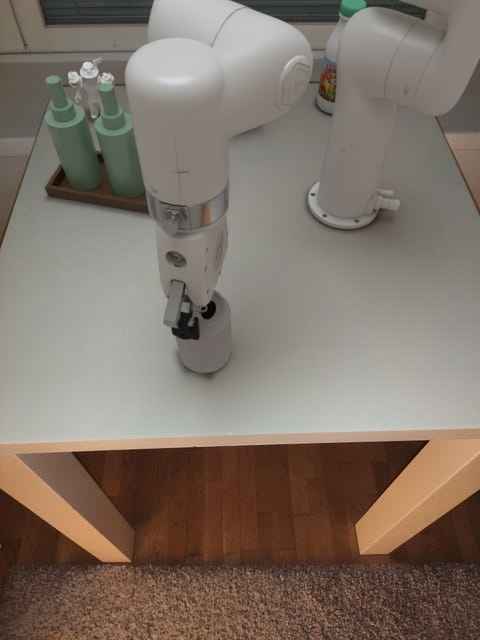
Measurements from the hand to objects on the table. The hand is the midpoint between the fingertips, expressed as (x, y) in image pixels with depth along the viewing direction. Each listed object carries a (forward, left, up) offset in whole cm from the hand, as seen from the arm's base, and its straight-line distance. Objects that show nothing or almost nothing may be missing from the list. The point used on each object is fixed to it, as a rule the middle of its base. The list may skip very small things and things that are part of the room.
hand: (197, 302), depth 57 cm
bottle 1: (+31, -30, -12) cm, 45 cm away
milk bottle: (-11, -65, -13) cm, 68 cm away
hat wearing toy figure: (+36, -49, -13) cm, 62 cm away
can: (0, 0, -13) cm, 13 cm away
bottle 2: (+22, -30, -12) cm, 40 cm away
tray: (+21, -30, -13) cm, 39 cm away
